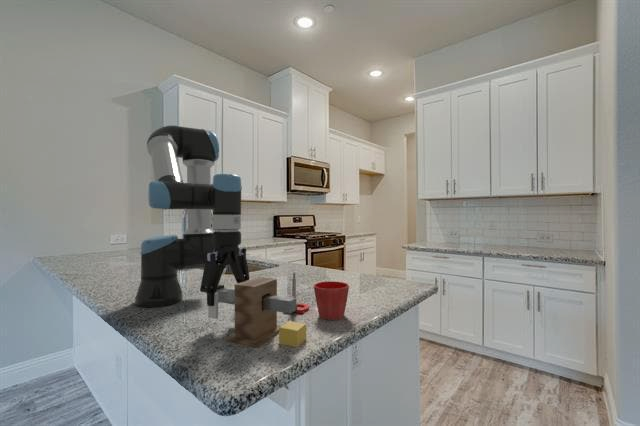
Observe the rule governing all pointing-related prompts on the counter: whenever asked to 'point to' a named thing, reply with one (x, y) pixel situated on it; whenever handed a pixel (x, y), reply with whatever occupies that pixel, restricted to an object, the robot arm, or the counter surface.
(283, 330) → the block
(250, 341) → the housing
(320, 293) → the flower pot
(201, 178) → the robot arm
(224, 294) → the shaft
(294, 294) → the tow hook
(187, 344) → the counter surface
